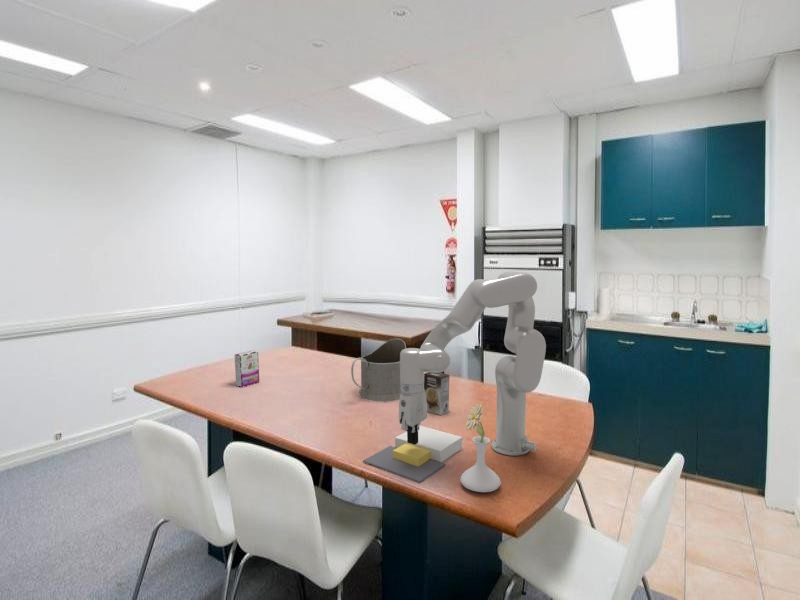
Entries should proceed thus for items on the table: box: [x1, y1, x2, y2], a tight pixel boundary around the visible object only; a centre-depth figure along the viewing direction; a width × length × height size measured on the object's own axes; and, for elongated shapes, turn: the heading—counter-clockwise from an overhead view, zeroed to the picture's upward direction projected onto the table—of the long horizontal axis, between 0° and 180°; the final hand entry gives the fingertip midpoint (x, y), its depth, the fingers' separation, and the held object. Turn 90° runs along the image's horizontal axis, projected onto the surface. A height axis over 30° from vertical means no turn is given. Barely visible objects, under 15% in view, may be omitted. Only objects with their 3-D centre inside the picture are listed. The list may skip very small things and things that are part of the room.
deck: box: [394, 425, 463, 463], centre depth 155 cm, size 18×14×4 cm
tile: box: [393, 443, 431, 466], centre depth 147 cm, size 10×7×2 cm
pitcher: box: [350, 338, 407, 403], centre depth 212 cm, size 23×32×25 cm
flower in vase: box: [459, 403, 502, 493], centre depth 128 cm, size 13×11×25 cm
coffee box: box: [424, 372, 450, 416], centre depth 192 cm, size 9×6×16 cm
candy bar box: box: [234, 350, 260, 388], centre depth 232 cm, size 11×5×16 cm, turn 147°
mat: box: [362, 445, 446, 484], centre depth 144 cm, size 22×14×1 cm, turn 53°
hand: (412, 442), depth 147 cm, fingers closed
